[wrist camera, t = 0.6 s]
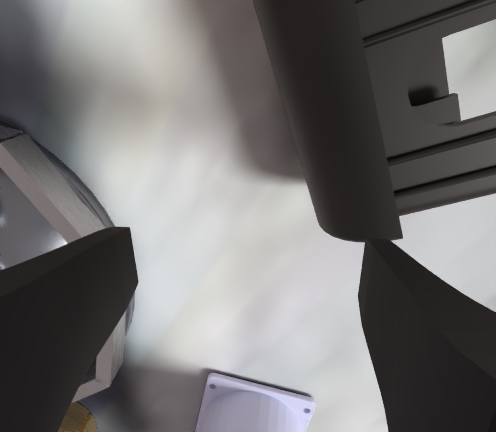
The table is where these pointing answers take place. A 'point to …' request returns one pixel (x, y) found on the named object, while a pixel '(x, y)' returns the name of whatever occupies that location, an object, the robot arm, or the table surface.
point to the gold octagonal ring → (78, 420)
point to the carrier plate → (51, 227)
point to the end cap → (378, 108)
